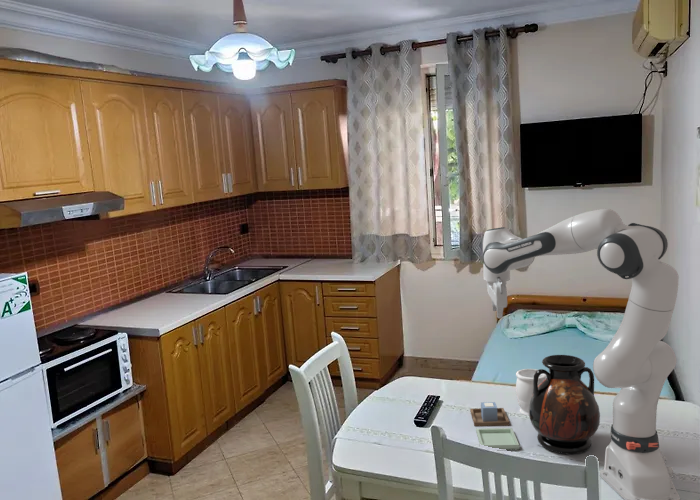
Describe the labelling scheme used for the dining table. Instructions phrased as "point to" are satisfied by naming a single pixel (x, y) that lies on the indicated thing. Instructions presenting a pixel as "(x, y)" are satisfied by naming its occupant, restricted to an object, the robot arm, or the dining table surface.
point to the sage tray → (498, 438)
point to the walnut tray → (479, 421)
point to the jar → (526, 388)
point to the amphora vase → (564, 405)
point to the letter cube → (489, 411)
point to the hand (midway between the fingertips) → (497, 314)
